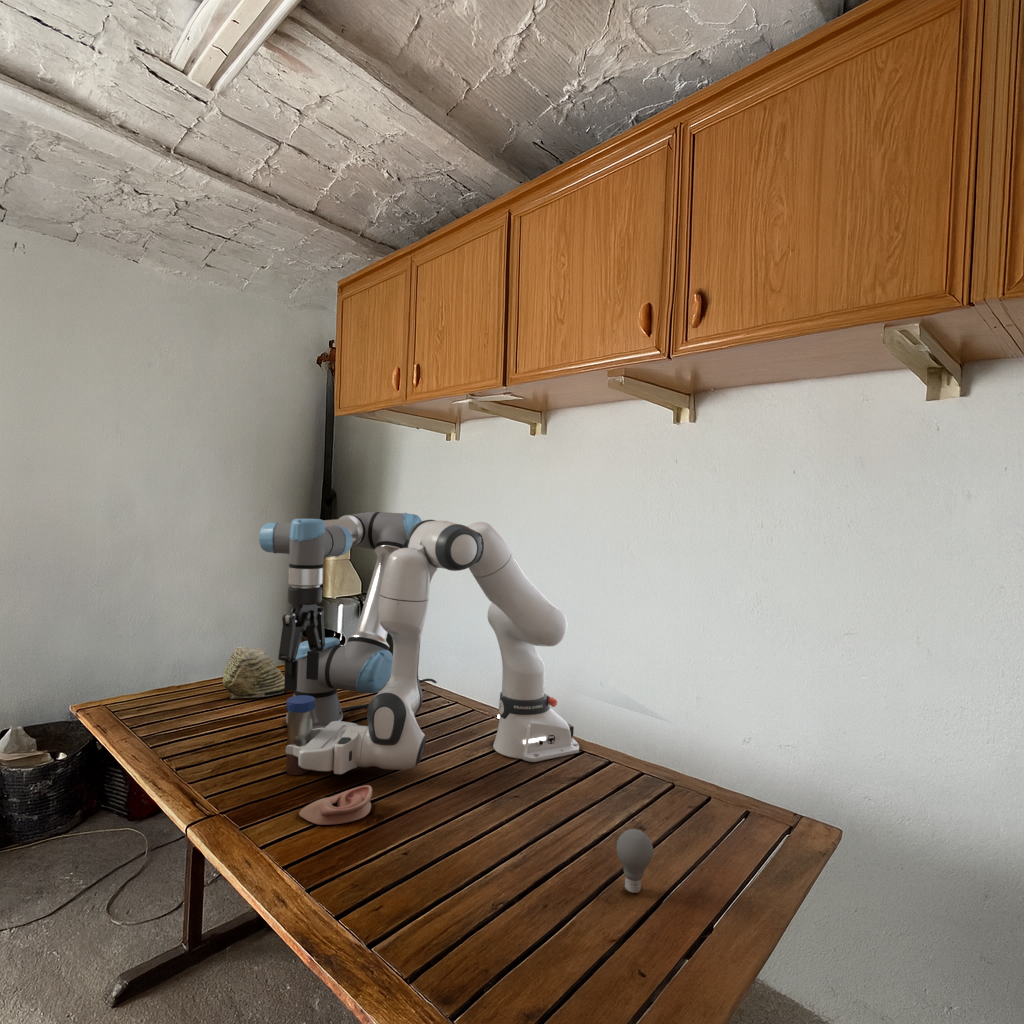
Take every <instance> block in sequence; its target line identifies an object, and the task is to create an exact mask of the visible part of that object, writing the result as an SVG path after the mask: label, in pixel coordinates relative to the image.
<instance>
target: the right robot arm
mask: <svg viewBox="0 0 1024 1024" xmlns="http://www.w3.org/2000/svg"><path fill="white" fill-rule="evenodd" d="M405 547H406V548H405ZM438 569H444V570H448V571H450V572H451V571H452V572H459V571H463V570H467V569H468V570H469V571H470V573H471V575H472V576H473V578H474V579H475V581H476V583H477V584H478V586H479V587H480V590H481V591H482V592H483V594H484V595H485V597H486V598H487V599H488V601H490V602H491V603H490V604H489V606H488V609H487V621H488V624H489V626H490V627H491V628H492V630H493V632H494V634H495V637H496V639H497V643H498V647H499V652H500V658H501V666H502V673H501V691H500V693H499V701H498V713H499V714H497V719H498V727H497V731H496V735H495V739H494V742H493V744H492V747H493V748H492V749H493V750H494V751H495V752H496V753H498V754H499V755H502V756H506V757H508V758H512V759H520V760H523V761H526V762H529V763H536V762H541V761H547V760H551V759H555V758H561V757H565V756H566V757H567V756H570V755H574V754H578V753H580V745H579V743H578V741H577V740H576V739H575V738H574V728H575V727H574V726H573V725H572V724H570V723H569V722H567V721H566V720H565V719H564V718H563V717H562V716H561V715H559V714H558V713H557V712H556V711H555V710H553V709H552V708H555V707H556V706H558V701H557V699H556V698H554V696H553V697H552V696H550V695H548V694H547V693H545V685H546V665H545V662H544V660H543V659H542V658H541V655H540V654H539V652H538V650H537V647H556V646H558V645H559V644H560V643H561V642H562V641H563V640H564V639H565V637H566V634H567V631H568V619H567V616H566V614H565V613H564V611H563V610H561V609H560V608H559V607H557V606H556V605H555V604H553V603H552V602H551V601H549V599H547V597H546V596H545V595H544V594H543V593H542V592H541V591H540V589H538V587H536V586H535V584H534V583H533V582H532V581H531V580H530V579H529V578H528V577H527V575H526V573H524V571H523V569H522V568H521V566H520V565H519V563H518V561H517V560H516V558H515V556H514V554H513V553H512V551H511V550H510V548H509V546H508V545H507V543H506V542H505V540H504V539H503V537H502V536H501V535H500V534H499V533H498V531H497V530H496V529H495V528H494V527H493V526H492V525H490V524H489V523H487V522H485V521H476V522H472V523H471V524H469V525H467V526H466V525H464V524H461V523H460V524H459V523H456V522H453V521H449V520H436V519H425V520H422V521H421V522H419V523H417V524H416V525H415V526H414V527H413V528H412V529H411V531H410V532H409V534H408V537H407V540H406V541H405V543H404V544H403V548H401V549H398V550H395V551H394V552H392V553H391V554H390V556H389V558H388V561H387V564H386V567H385V570H384V574H383V579H382V584H381V590H380V597H379V622H380V624H381V626H382V627H383V629H384V630H385V631H386V632H388V634H389V636H390V637H391V638H392V644H393V645H392V647H393V648H392V656H393V660H392V672H391V675H390V678H389V680H388V682H387V683H386V685H385V686H384V687H383V688H382V689H381V690H380V691H378V692H377V694H375V695H374V696H373V697H372V699H371V700H370V702H369V703H368V704H369V706H368V707H367V709H366V720H367V725H360V724H358V723H354V722H349V721H344V720H343V721H332V722H331V723H329V724H328V725H327V726H326V727H325V728H316V729H312V740H311V741H310V742H309V743H308V744H306V745H305V746H301V747H299V746H296V744H289V745H288V746H287V745H286V746H285V754H286V755H287V754H293V755H294V756H296V757H298V765H299V766H300V767H301V768H303V769H308V770H310V771H316V772H331V771H333V774H334V775H343V774H345V773H346V772H348V771H351V770H353V769H358V768H370V767H376V768H379V769H382V770H390V771H391V770H393V771H394V770H396V771H398V770H399V771H400V770H401V771H403V770H404V771H405V770H411V769H415V768H416V767H417V766H418V765H419V764H420V762H421V761H422V758H423V756H424V753H425V750H426V745H427V735H426V734H425V733H424V732H423V731H422V729H421V728H420V726H419V724H418V721H417V719H416V715H417V714H418V712H419V711H420V710H421V708H422V706H423V702H424V694H423V689H422V686H421V683H420V682H419V681H420V678H419V664H420V651H421V638H422V634H423V630H424V625H425V621H426V618H427V612H428V606H429V601H430V587H431V581H432V579H433V577H434V575H435V573H436V572H437V571H438ZM571 737H572V738H571Z"/></svg>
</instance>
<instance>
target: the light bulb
mask: <svg viewBox="0 0 1024 1024" xmlns="http://www.w3.org/2000/svg"><path fill="white" fill-rule="evenodd" d="M615 849H616V854H617V857H618V859H619V861H620V863H621V865H622V867H623V873H624V874H623V875H624V876H625V878H624V888H625V890H627V891H628V892H630V893H634V894H635V893H639V892H640V891H641V889H642V887H641V886H642V879H643V877H644V875H645V871H646V868H647V867H648V866H649V864H650V863H651V861H652V859H653V855H654V847H653V843H652V841H651V838H649V836H648V835H647V834H646V833H645V832H643V831H642V830H641V829H636V828H629V829H627V830H625V831H623V832H622V833H621V834H620V835H619V837H618V839H617V841H616V847H615Z"/></svg>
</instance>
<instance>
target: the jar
mask: <svg viewBox="0 0 1024 1024" xmlns="http://www.w3.org/2000/svg"><path fill="white" fill-rule="evenodd" d="M287 713H288V727H287V734H286V746H288V745H289V744H296V746H299V747H301V746H305V745H306V744H308V743H309V742H310V741H311V740H312V739H313V738H312V724H313V710H311V711H307V712H300V713H296V712H290V711H288V710H287ZM285 758H286V760H285V761H286V762H285V764H286V765H285V772H286V774H288V775H290V776H300V775H305V774H307V773H309V772H311V770H308V769H303V768H301V767H300V766H299V765H298V757H296V756H294V755H293V754H286V757H285Z"/></svg>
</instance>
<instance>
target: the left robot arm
mask: <svg viewBox="0 0 1024 1024" xmlns="http://www.w3.org/2000/svg"><path fill="white" fill-rule="evenodd" d="M421 521H423V520H422V517H420V516H419V515H418V514H415V513H407V512H403V513H402V512H401V513H400V512H386V511H385V512H384V511H367V512H360V513H352V514H345V515H343V516H340V517H339V518H338V519H337V518H336V519H325V520H323V519H321V518H294V519H292V521H291V522H287V523H286V522H283V523H281V522H267V523H265V524H264V525H263V526H262V527H261V529H260V531H259V533H258V544H259V546H260V548H261V550H262V551H264V552H266V553H272V554H287V555H289V560H288V561H289V563H288V580H287V581H288V585H290V586H289V587H288V588H287V603H288V604H291V610H290V613H288V614H282V619H281V620H282V628H281V637H280V644H279V651H278V656H277V658H278V660H279V661H282V662H284V677H285V683H284V689H285V691H293V696H299V695H308V696H313V697H314V698H315V708H314V709H313V724H312V729H316V728H325V727H326V726H327V725H328V724H329V723H331V722H332V721H343V722H344V714H343V712H345V711H351V710H355V709H364V708H368V706H369V703H367V704H365V703H364V704H359V705H351V706H346V707H342V706H341V702H340V699H339V695H338V690H342V691H350V692H358V693H360V694H365V693H366V694H376V693H379V692H380V691H381V690H382V689H383V688H384V687H385V686H386V684H387V682H388V681H389V679H390V676H391V673H392V660H393V653H392V652H391V651H390V645H389V643H388V642H387V638H388V634H389V633H388V632H386V631H385V630H384V629H383V627H382V626H381V624H380V622H379V597H380V590H381V584H382V579H383V574H384V570H385V567H386V564H387V561H388V558H389V556H390V554H391V553H392V552H394V551H395V550H398V549H401V548H403V544H404V543H405V541H406V540H407V537H408V534H409V532H410V531H411V529H412V528H413V527H414V526H415V525H416V524H417V523H419V522H421ZM351 548H362V549H367V550H374V553H375V554H376V556H377V558H376V562H375V566H374V569H373V573H372V576H371V579H370V583H369V586H368V589H367V592H366V597H365V599H364V602H363V603H364V604H363V606H362V610H361V613H360V617H359V621H358V624H357V627H356V631H355V633H353V634H351V635H350V636H348V638H347V642H346V645H340V644H341V641H340V639H339V638H337V637H326V632H325V617H324V616H325V607H324V606H319V605H318V604H320V603H322V601H323V587H322V585H323V583H324V558H333V557H335V558H337V557H340V556H343V555H346V554H347V553H349V551H350V550H351ZM405 548H406V547H405ZM304 632H305V635H306V640H304V641H302V637H303V633H304ZM301 641H302V642H301ZM419 682H420V684H423V683H424V682H432V683H433V684H437V683H438V681H436V680H435V679H433V678H423V679H419ZM285 726H286V728H288V712H287V713H286V715H285Z"/></svg>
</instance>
